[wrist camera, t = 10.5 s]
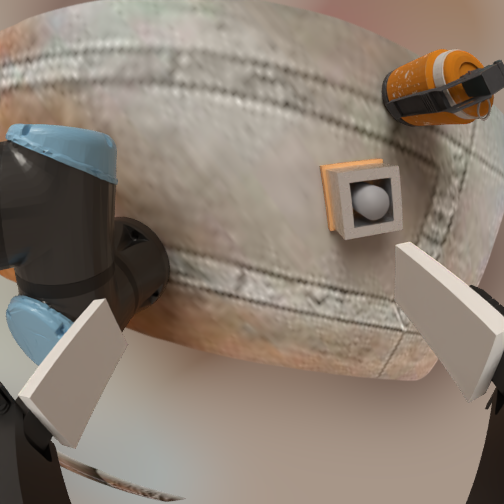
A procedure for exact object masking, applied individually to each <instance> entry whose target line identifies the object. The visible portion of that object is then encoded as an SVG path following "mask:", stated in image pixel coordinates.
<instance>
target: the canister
mask: <svg viewBox="0 0 504 504" xmlns="http://www.w3.org/2000/svg"><path fill="white" fill-rule="evenodd" d="M502 88H504V64H503V62H502V60H498V61H495V62H494V63H493V65H488V66H486V67H483V65H482V64H481V63H480V62H479V61H478V60H477V59H476V58H475V57H474V56H473V55H471V54H469V53H467V52H465V51H462V50H458V49H453V50H450V51H449V50H445V49H440V50H436V51H434V52H431V53H429V54H427V55H425V56H422V57H420V58H418V59H416V60H414V61H412V62H410V63H407V64H405V65H403V66H401V67H399V68H397V69H395V70H393V71H391V72H390V73H389V74H388V75H387V76H386V77H385V79H384V81H383V84H382V96H383V100H384V103H385V105H386V107H387V109H388V111H389V112H390V114H391V115H392V116H393V117H394V119H395V120H398V121H399V122H401V123H403V124H405V125H408V126H425V125H444V124H468V123H471V122H473V121H474V120H475V119H479V118H480V119H481V120H483V121H485V120H486V119H487V118H488V117H489V115H490V111H491V107H492V105H493V99H494V94H495V93H496V92H498V91H499V90H501V89H502ZM486 114H487V115H486ZM485 115H486V117H485V118H482V117H484V116H485Z"/></svg>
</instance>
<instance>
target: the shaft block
mask: <svg viewBox="0 0 504 504" xmlns="http://www.w3.org/2000/svg"><path fill="white" fill-rule="evenodd" d="M370 163H383V159H370V160H361V161H353V162H345V163H337V164H330V165H323V166H320V171H321V177H322V184H323V190H324V197H325V204H326V212H327V220H328V228H329V230H330V231H333V230H336V229H335V228H334V227H333V223H332V214H331V207H330V199H329V192H328V185H327V178H326V172H325V169H331V168H338V167H345V166H353V165H362V164H370ZM349 184H350V192H351V200H352V209H353V214H356V213H360V214H361V215H363V216H364V217H366V218H367V219H370V220H377V219H380V218H382V217H383V216H384V215H385V214H386V212H387V211H388V208H389V197H388V195H387V193H386V192H385V191H384V190H383V189H382V188H380V187H377V186H374V185H373V180H367V181H360V182H353V183H349Z"/></svg>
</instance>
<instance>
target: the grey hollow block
mask: <svg viewBox="0 0 504 504" xmlns="http://www.w3.org/2000/svg"><path fill="white" fill-rule="evenodd" d="M325 172H326V178H327V185H328V192H329V199H330V207H331V214H332V223H333V227H334V228H335V229H336V231H337V232H338V233H339V234H340V235H341V236H342V237H343V238H344V239H345V240H348V239H354V238H359V237H365V236H370V235H376V234H381V233H387V232H392V231H398V230H403V217H402V198H401V185H400V174H399V166H397V165H391V164H385V163H370V164H362V165H353V166H345V167H338V168H331V169H325ZM367 180H373V185H374V186H377V187H380V188H382V189H383V190H384V191H385V192H386V193H387V195H388V197H389V208H388V211H387V212H386V214H385V215H384V216H383V217H382V218H380V219H377V220H370V219H367V218H366V217H364V216H363V215H361V214H360V213H356V214H353V209H352V200H351V192H350V184H349V183H353V182H360V181H367Z"/></svg>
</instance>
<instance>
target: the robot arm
mask: <svg viewBox="0 0 504 504" xmlns="http://www.w3.org/2000/svg"><path fill="white" fill-rule="evenodd" d="M6 139H7V141H4V142H0V270H3V269H8V268H13V267H14V270H15V275H16V280H17V285H18V290H19V295H18V296H15V297H13V298H12V299H11V302H10V304H9V305H8V309H7V310H6V318H7V323H8V327H9V329H10V331H11V333H12V335H13V337H14V339H15V340H16V342H17V343H18V345H19V346H20V348H21V349H22V350H23V351H24V352H25V354H26V355H27V356H28V357H29V358H30V359H31V360H32V361H33V362H34V363H36V364H37V365H38V366H39V367H38V368H37V369H36V371H35V372H34V373H33V375H32V376H31V377H30V379H29V380H28V382H27V383H26V384H25V386H24V387H23V388H22V390H21V391H20V393H19V394H18V398H17V399H16V400H14V399H13V398H12V396H11V395H10V394H9V392H8V391H7V390H6V388H5V387H4V386H3V384H2V383H1V382H0V504H71V502H70V499H69V496H68V492H67V489H66V486H65V483H64V479H63V476H62V472H61V468H60V464H59V460H58V456H57V451H56V447H55V445H54V443H52V441H51V438H52V436H54V437H55V438H56V439H57V440H58V441H59V442H60V443H61V444H62V445H64V446H68V447H72V448H75V449H76V447H77V445H78V442H79V440H80V438H81V436H82V434H83V431H84V429H85V427H86V425H87V423H88V421H89V419H90V417H91V414H92V413H93V411H94V408H95V407H96V404H97V402H98V401H99V399H100V397H101V394H102V392H103V390H104V389H105V387H106V385H107V383H108V381H109V379H110V377H111V375H112V373H113V371H114V370H115V368H116V366H117V364H118V362H119V360H120V358H121V356H122V355H123V353H124V351H125V349H126V347H127V345H128V344H127V342H126V340H125V338H124V336H123V334H122V332H123V330H124V328H125V327H126V325H127V324H128V322H129V321H130V319H131V318H132V316H133V315H134V314H135V313H137V312H139V311H141V310H143V309H145V308H147V307H149V306H150V305H152V304H153V303H154V302H155V301H156V300H157V299H158V298H159V297H160V295H161V294H162V292H163V290H164V289H165V287H166V285H167V282H168V278H169V261H168V256H167V253H166V251H165V248H164V246H163V244H162V243H161V241H160V240H159V238H158V237H157V236H156V234H155V233H154V232H153V231H152V230H151V229H149V228H148V227H147V226H146V225H144V224H143V223H141V222H139V221H137V220H134V219H131V218H127V217H115V218H114V213H115V192H116V184H117V183H118V180H117V179H116V157H117V149H116V145H115V142H114V141H113V139H112V138H111V137H110V136H108V135H106V134H104V133H101V132H97V131H92V130H87V129H81V128H74V127H67V126H57V125H45V124H35V125H33V124H14V125H12V126H11V127H10V128H9V130H8V132H7V134H6ZM394 300H395V302H396V303H397V304H398V305H399V307H400V308H401V309H402V310H403V312H404V313H405V314H406V316H407V317H408V318H409V319H410V321H411V322H412V323H413V325H414V326H415V327H416V328H417V330H418V331H419V332H420V334H421V335H422V336H423V338H424V339H425V341H426V342H427V343H428V345H429V346H430V347H431V349H432V350H433V351H434V353H435V354H436V356H437V357H438V358H439V360H440V361H441V363H442V364H443V366H444V367H445V368H446V370H447V371H448V373H449V374H450V376H451V377H452V379H453V380H454V381H455V383H456V385H457V386H458V387H459V389H460V391H461V392H462V394H463V395H464V397H465V398H466V400H467V402H468V403H469V402H471V401H473V400H475V399H476V398H478V397H480V396H482V395H484V394H485V393H486V391H487V389H488V387H489V385H490V383H491V381H492V382H493V383H494V384H495V386H496V388H495V390H494V392H493V394H492V396H491V398H490V400H489V401H488V403H487V405H486V408H485V409H488V408H489V406H490V405H491V403H492V407H491V413H490V419H489V425H488V430H487V435H486V440H485V444H484V448H483V452H482V456H481V460H480V464H479V467H478V470H477V474H476V477H475V480H474V483H473V486H472V489H471V491H470V494H469V497H468V500H467V502H466V504H504V307H503V306H502V305H499V303H498V302H497V301H496V300H495V299H492V297H491V296H490V295H489V294H487V293H486V292H485V291H484V290H482V289H480V288H478V287H475V286H473V285H470V286H468V285H467V284H465V283H464V282H463V281H462V280H461V279H459V278H458V277H457V276H455V275H454V274H453V273H452V272H450V271H449V270H448V269H447V268H445V267H444V266H443V265H441V264H440V263H439V262H437V261H436V260H435V259H433V258H432V257H431V256H429V255H428V254H427V253H425V252H424V251H422V250H421V249H420V248H418V247H417V246H415V245H414V244H413V243H411V242H406V243H401V244H397V245H395V297H394Z"/></svg>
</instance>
